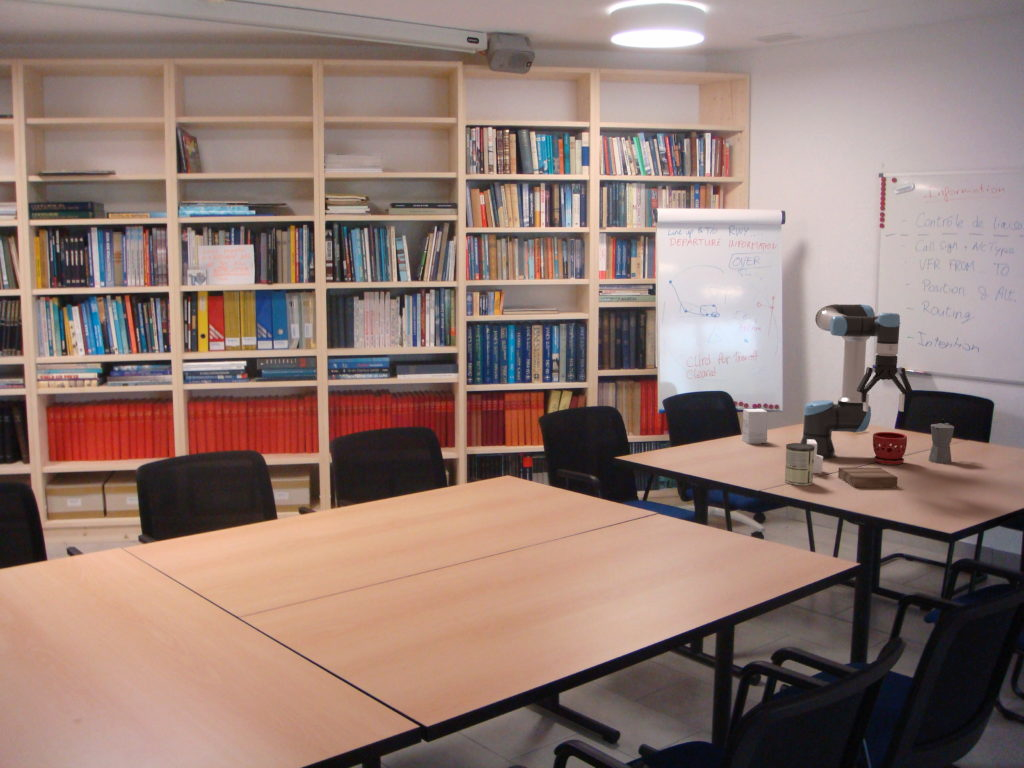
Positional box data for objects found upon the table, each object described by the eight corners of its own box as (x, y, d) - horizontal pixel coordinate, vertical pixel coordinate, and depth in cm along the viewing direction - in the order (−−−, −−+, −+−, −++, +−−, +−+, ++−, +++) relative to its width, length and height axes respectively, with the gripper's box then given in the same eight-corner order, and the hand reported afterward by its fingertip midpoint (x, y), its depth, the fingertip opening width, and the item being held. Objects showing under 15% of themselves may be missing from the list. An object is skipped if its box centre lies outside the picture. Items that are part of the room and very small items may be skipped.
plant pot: (870, 458, 396) (872, 430, 395) (904, 460, 392) (906, 432, 390) (871, 464, 384) (873, 436, 382) (906, 467, 380) (908, 438, 378)
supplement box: (760, 440, 434) (762, 408, 432) (767, 443, 425) (768, 411, 423) (741, 440, 434) (742, 408, 432) (747, 444, 425) (749, 411, 423)
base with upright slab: (823, 474, 366) (825, 444, 364) (799, 473, 368) (801, 443, 366) (820, 469, 375) (822, 439, 373) (797, 468, 377) (799, 438, 375)
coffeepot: (946, 465, 384) (949, 422, 381) (922, 462, 390) (925, 419, 388) (958, 459, 395) (961, 417, 392) (935, 456, 401) (938, 415, 399)
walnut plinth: (838, 477, 361) (838, 467, 360) (879, 477, 361) (879, 467, 360) (854, 487, 345) (854, 477, 344) (896, 487, 345) (897, 477, 345)
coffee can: (782, 478, 358) (783, 442, 356) (809, 479, 357) (811, 443, 355) (787, 485, 348) (789, 448, 346) (815, 486, 347) (817, 448, 345)
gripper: (858, 355, 343) (854, 412, 346) (924, 355, 344) (920, 412, 347) (849, 353, 350) (846, 409, 353) (914, 353, 351) (910, 409, 354)
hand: (883, 411), depth 350 cm, fingers open, 13 cm apart
